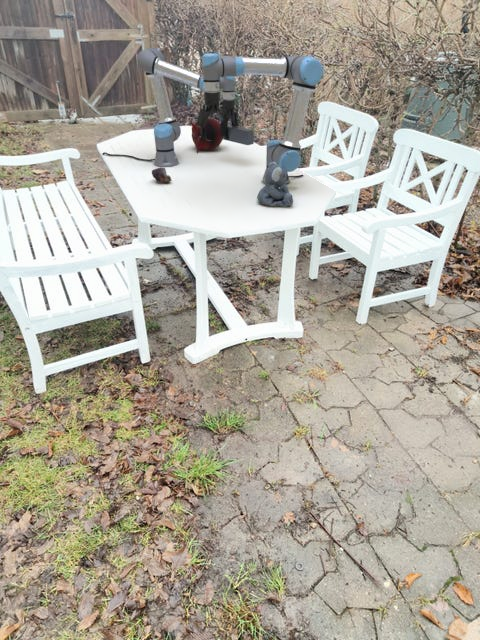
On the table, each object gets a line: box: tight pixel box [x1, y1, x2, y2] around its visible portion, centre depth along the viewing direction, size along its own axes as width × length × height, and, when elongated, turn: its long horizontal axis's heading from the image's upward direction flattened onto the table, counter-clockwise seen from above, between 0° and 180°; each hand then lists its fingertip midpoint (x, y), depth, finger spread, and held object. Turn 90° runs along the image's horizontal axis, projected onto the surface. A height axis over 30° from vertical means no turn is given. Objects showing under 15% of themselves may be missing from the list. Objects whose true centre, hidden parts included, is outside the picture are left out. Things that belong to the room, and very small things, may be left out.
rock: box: [151, 166, 172, 183], centre depth 260 cm, size 12×9×10 cm
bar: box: [222, 124, 255, 146], centre depth 285 cm, size 24×5×8 cm, turn 43°
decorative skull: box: [189, 117, 223, 154], centre depth 320 cm, size 21×24×25 cm
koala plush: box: [256, 162, 294, 208], centre depth 228 cm, size 17×18×20 cm
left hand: (229, 138), depth 292 cm, fingers closed on bar, 5 cm apart
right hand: (213, 139), depth 224 cm, fingers open, 13 cm apart
